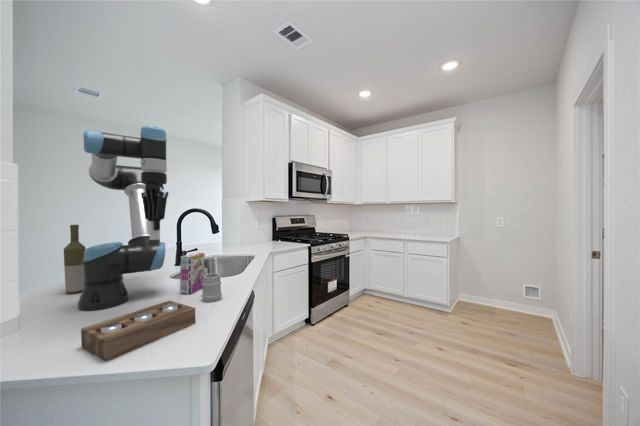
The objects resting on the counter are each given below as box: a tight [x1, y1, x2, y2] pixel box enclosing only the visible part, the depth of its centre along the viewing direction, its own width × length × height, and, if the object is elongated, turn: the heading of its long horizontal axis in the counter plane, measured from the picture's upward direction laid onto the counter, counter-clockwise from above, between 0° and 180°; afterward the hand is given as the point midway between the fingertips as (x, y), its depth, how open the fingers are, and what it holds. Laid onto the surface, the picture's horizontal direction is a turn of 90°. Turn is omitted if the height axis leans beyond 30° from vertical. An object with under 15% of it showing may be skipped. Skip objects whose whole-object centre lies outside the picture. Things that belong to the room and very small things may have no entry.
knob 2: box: [134, 313, 153, 323], centre depth 77 cm, size 4×4×5 cm
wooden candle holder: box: [80, 300, 196, 362], centre depth 77 cm, size 14×24×5 cm, turn 151°
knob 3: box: [162, 304, 178, 313], centre depth 84 cm, size 4×4×5 cm
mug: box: [201, 267, 223, 303], centre depth 107 cm, size 8×12×12 cm, turn 48°
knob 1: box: [101, 323, 122, 335], centre depth 70 cm, size 4×4×5 cm
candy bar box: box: [179, 252, 206, 295], centre depth 117 cm, size 11×5×16 cm, turn 172°
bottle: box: [63, 224, 87, 295], centre depth 114 cm, size 7×7×30 cm
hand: (154, 239), depth 91 cm, fingers closed
